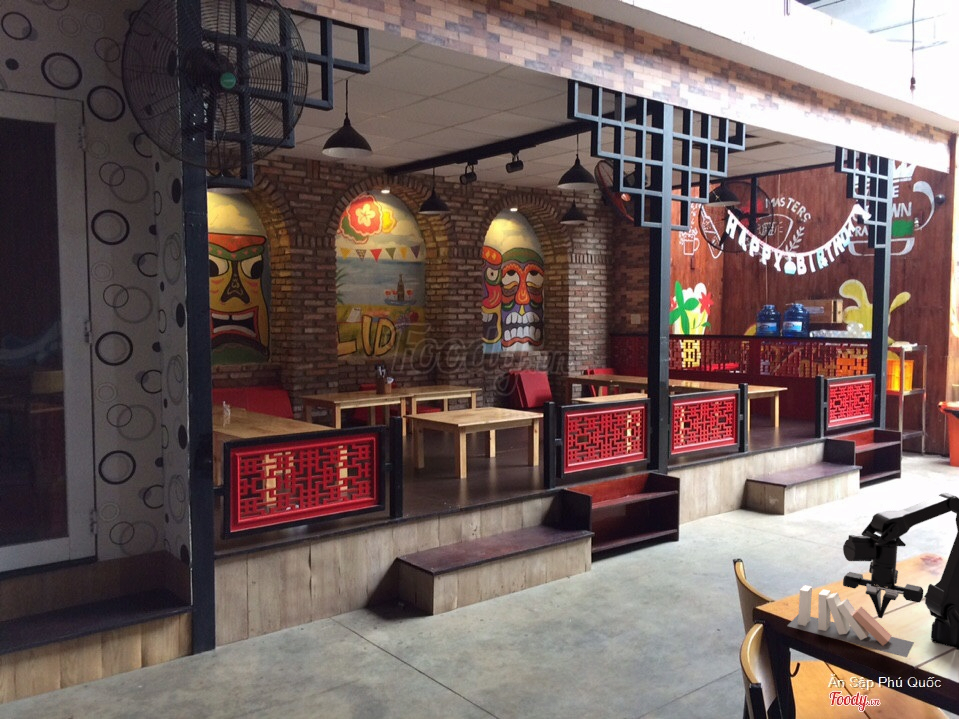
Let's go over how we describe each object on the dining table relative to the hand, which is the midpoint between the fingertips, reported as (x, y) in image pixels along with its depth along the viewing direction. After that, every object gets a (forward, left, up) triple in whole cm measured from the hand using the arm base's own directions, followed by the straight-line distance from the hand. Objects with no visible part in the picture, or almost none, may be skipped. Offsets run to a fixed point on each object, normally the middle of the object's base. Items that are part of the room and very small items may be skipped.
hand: (880, 617), depth 211 cm
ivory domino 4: (+3, 0, -6) cm, 7 cm away
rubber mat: (+7, 0, -7) cm, 10 cm away
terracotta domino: (-2, 0, -6) cm, 6 cm away
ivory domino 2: (+14, 0, -7) cm, 15 cm away
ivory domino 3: (+9, 0, -6) cm, 11 cm away
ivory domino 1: (+19, 0, -7) cm, 21 cm away
